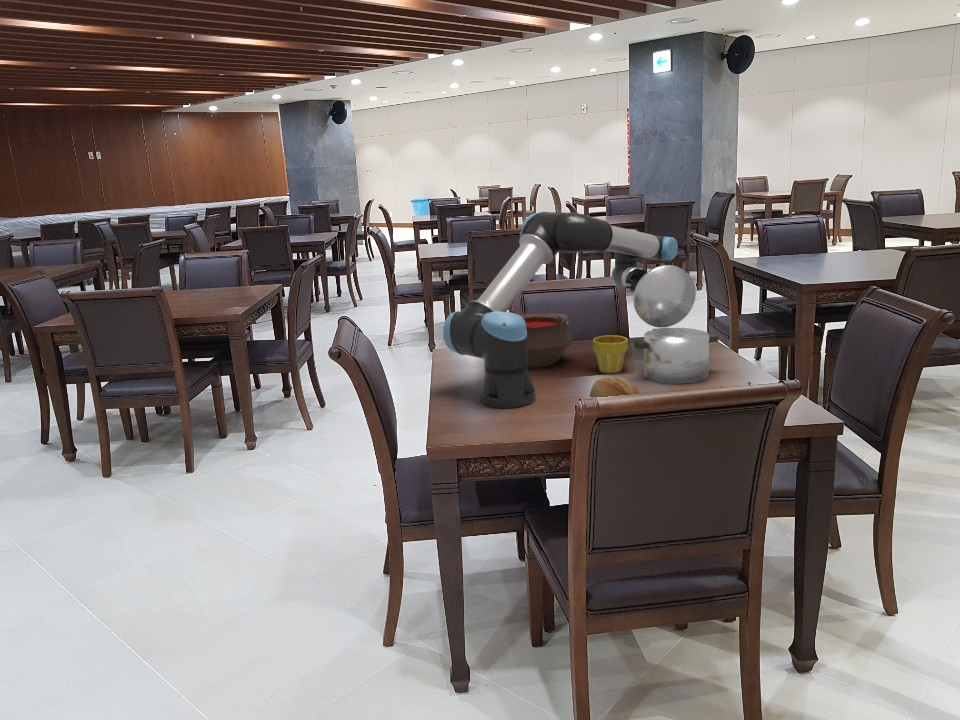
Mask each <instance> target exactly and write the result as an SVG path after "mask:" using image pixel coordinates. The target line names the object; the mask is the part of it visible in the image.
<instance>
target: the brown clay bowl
mask: <svg viewBox="0 0 960 720" xmlns="http://www.w3.org/2000/svg"><path fill="white" fill-rule="evenodd" d="M508 310H509V311H508V312H510V313H514V314H515V311H514V310H513V309H512V308H509V309H508ZM558 314H559V313H526V314H519V315H520V316H521V317H522V318H523V319H524V320H525V323H526V330H527V356H528V368H536V367H537V368H543V366H544V367H548V365H551V366H553V365H554V363H557V362H559V360H560V359H561V357H562V356H563V354H564V353H565V351H566V350H567V348H568V347H569V345H570V343H571V342H572V340H574V338H573V337H572V335H571V332H570V330H569V328H568V326H567V324H566V322H567V321H568V322H569V320H570V319H569V318H568V317H567V318H566V317H563V316H560V315H558Z"/></svg>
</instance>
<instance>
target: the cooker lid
mask: <svg viewBox="0 0 960 720" xmlns="http://www.w3.org/2000/svg"><path fill="white" fill-rule="evenodd" d="M696 292H697V291H696V285H695V282H694V280H693V278H692V276H691V275H690V273H688V272H687V271H686V270H684V269H682V268H681V267H679V266H677V265H670V264H663V265H660V266H656V267H653V268H651V269H650V270H648V271H647V273H646V274H645V275H644V276H643V277H642V278H641V279H640V280H639V282H638V284H637V286H636V288H635V291H634V292H633V298H632V299H633V301H632V302H633V307H634V310H635V312H636V315H637V316H638V317H639V319H640V320H642V322H644V323H645V324H647V325H649V326H652V327H655V328H670V327H672V326H674V325H676V324H678V323H680V322H681V321H683V320H684V319H685V318H686V317H687V316H688V315H689V313H690V312H691V310H692V309H693V307H694V304H695V302H696Z"/></svg>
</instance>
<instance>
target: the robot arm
mask: <svg viewBox="0 0 960 720" xmlns="http://www.w3.org/2000/svg"><path fill="white" fill-rule="evenodd" d="M520 230H521V231H520V232H519V241H518V243H519V247H518V248H517V250H516V251H515V252H514V253H513V255H512V256H511V257H510V258H509V260H508V261H507V262H505V265H503V267H502V269H501V270H499V272H498V274H497V275H496V276H495V277H494V278H493V280H492V281H491V282H490V284H489V285H488V286H487V288H486V289H485V290H484V291H483V292H482V294H481V295H480V297H478V299H477V300H470V301H469V302H468V303H467V304H466V305H465V307H464V308H463V309H462V311H460V310H458V311H453V312H451V313H450V314H449V315H447V317H446V318H445V321H444V323H443V327H442V331H443V333H442V334H443V335H442V336H443V341H444V344H445V345H446V347H447V348H448V349H449V351H452V352H454V353H456V354H459V355H461V356H469V357H474V358H478V359H483V362H484V377H483V379H482V382H481V387H480V391H479V402H480V403H481V404H482V405H484V406H486V407H490V408H495V409H497V408H499V409H513V408H518V407H519V408H520V407H524V406H527V405H530V404H532V403H534V402H535V400H536V397H537V396H536V389H535V387H534V384H533V380H532V379H531V376H530V373H529V369H528V368H529V367H528V356H527V330H526V323H525V320H524V319H523V318H522V317H521V316H520V315H521V314H518V313H515V312H514V313H512V312H509V311H508V310H510V309H511V306H512V305H513V304H514V302H515V301H516V300H517V298H518V297H519V296H520V295H521V293H522V292H523V291H524V290H525V288H526V287H527V285H528V284H529V283H530V281H531V280H532V279H533V277H534V276H535V275H536V273H537V272H538V271H539V270H540V268H541V267H542V266H543V265H544V264H545V265H546V264H549V263H551V262H552V261H553V259H554V258H555V257H556V256H557V254H558V253H565V254H566V253H570V254H571V253H572V254H573V253H590V252H591V253H603V252H612V253H614V254H615V255H614V256H615V258H614V259H615V261H614V267H613V269H612V271H611V278H612V280H613V282H614V283H616V284H617V286H619V287H622V288H625V289H627V290H630V291H631V292H632V293H634V291H635V288H636V286H637V284H638V282H639V280H640V279H641V278H642V277H643V276H644V275H645V274H646V273H647V272H648V271H647V270H645V269H641V268H639V266H638V263H639V259H641V260H642V259H643V260H655V261H671V260H674V259H676V256H677V254H678V250H679V246H678V245H679V244H678V240H676V238H675V237H671V236H660V235H656V234H655V235H654V234H651V233H650V234H649V233H645V232H641V231H638V230H637V229H633V228H631V229H630V228H629V229H628V228H624V227H621V226H615V225H611V224H610V222H608V221H607V220H604V219H599V218H596V217H593V216H590V215H586V214H582V213H579V212H552V211H549V212H548V211H540V212H535V213H532V214H530V215H528V216H527V217H526V218H525V219H524V221H523V222H522V224H521V226H520Z"/></svg>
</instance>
